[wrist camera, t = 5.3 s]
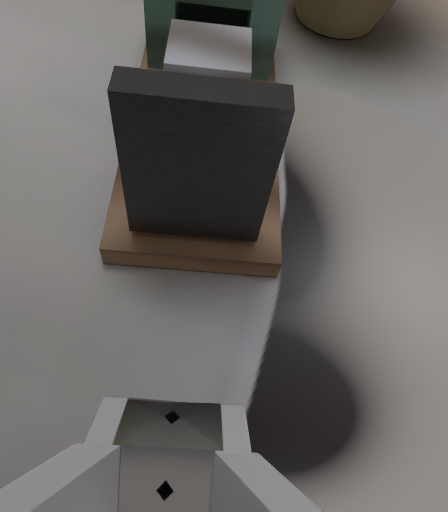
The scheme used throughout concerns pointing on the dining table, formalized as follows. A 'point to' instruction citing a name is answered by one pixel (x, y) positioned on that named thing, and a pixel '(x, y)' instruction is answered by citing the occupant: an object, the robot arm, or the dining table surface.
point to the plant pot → (341, 16)
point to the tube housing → (209, 64)
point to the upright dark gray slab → (197, 150)
